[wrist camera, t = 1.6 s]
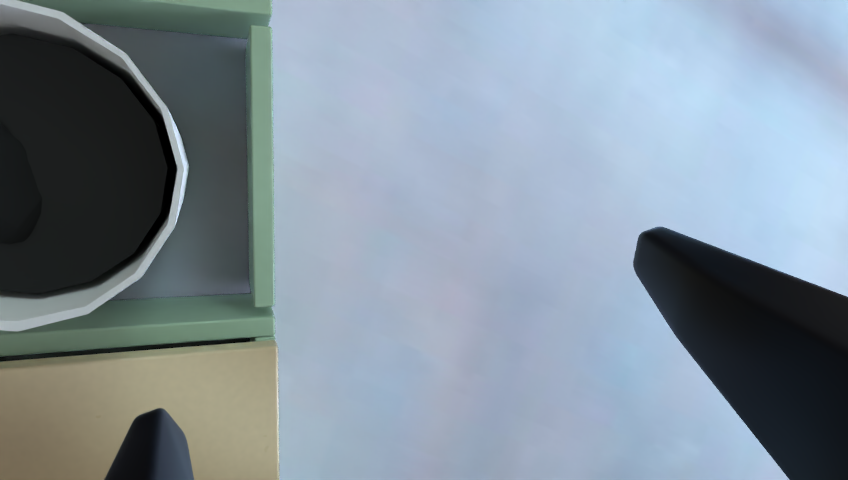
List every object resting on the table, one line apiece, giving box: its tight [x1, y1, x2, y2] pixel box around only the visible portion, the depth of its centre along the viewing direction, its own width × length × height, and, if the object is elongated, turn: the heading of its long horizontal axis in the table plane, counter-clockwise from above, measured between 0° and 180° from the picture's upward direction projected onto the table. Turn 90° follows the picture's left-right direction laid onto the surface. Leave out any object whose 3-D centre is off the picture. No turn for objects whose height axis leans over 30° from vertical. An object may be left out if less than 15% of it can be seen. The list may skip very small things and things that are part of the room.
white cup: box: [0, 0, 190, 332], centre depth 16 cm, size 7×7×10 cm
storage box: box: [0, 0, 275, 357], centre depth 19 cm, size 23×11×4 cm, turn 178°
